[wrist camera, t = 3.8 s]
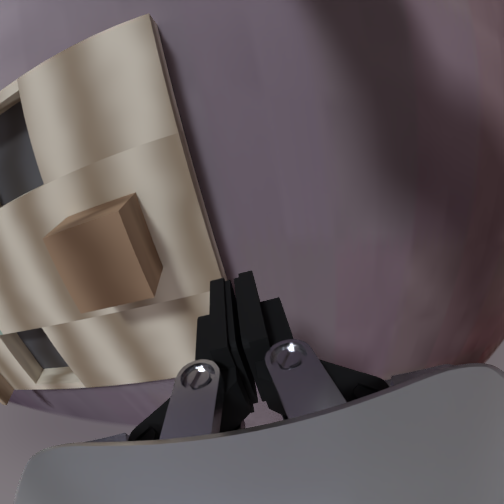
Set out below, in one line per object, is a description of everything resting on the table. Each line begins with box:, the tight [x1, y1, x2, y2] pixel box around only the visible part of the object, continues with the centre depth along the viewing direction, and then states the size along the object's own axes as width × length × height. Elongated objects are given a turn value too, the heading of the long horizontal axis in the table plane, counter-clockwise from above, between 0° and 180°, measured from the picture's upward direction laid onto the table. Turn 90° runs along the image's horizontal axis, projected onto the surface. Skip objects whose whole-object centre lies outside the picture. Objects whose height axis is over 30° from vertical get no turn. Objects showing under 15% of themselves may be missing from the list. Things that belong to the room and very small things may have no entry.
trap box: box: [0, 14, 227, 405], centre depth 21 cm, size 34×30×6 cm
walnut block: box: [43, 192, 163, 314], centre depth 19 cm, size 6×6×4 cm
